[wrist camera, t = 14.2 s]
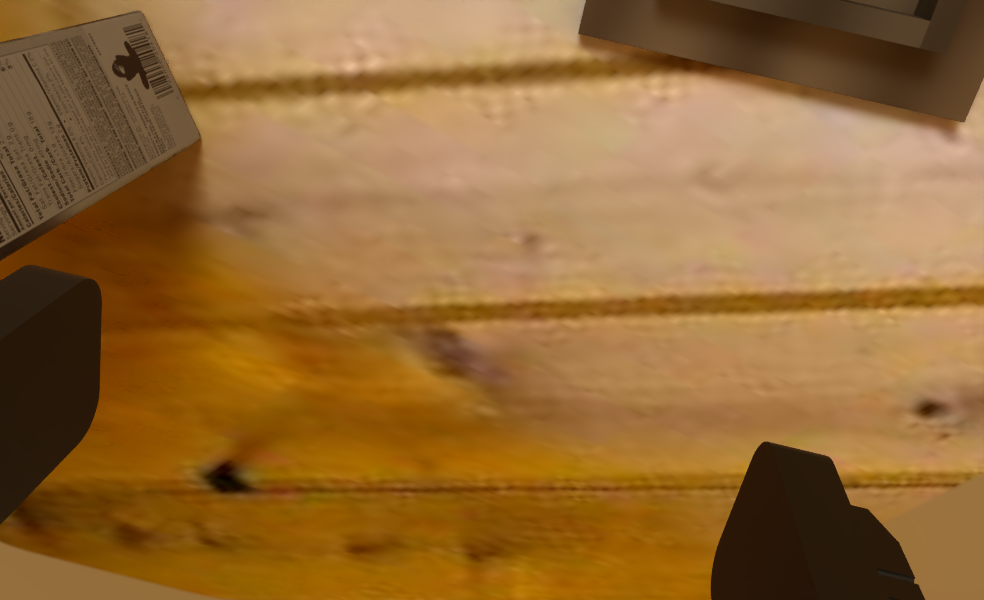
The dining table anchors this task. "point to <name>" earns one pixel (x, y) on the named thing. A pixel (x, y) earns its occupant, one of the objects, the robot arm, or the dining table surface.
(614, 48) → the dining table surface
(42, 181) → the coffee box
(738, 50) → the tray
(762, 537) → the robot arm
